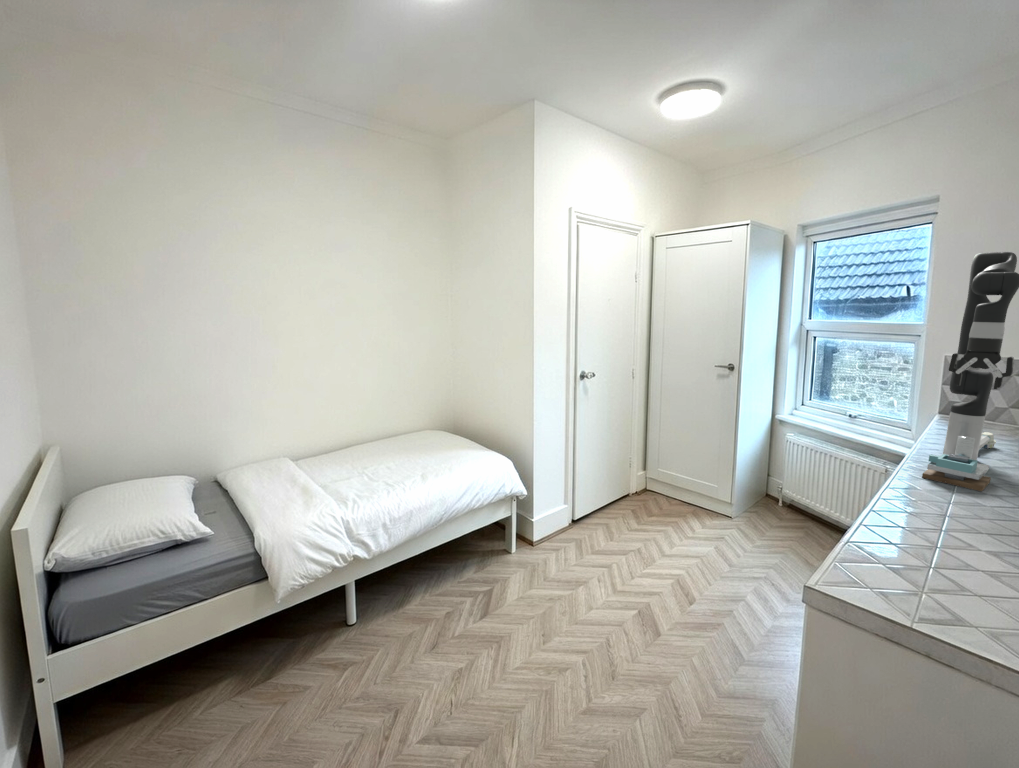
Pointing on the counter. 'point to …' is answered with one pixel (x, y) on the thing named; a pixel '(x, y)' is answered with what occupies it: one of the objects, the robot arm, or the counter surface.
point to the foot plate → (966, 483)
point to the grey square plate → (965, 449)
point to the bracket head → (953, 463)
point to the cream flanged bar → (987, 440)
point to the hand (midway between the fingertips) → (976, 387)
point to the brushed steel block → (957, 459)
